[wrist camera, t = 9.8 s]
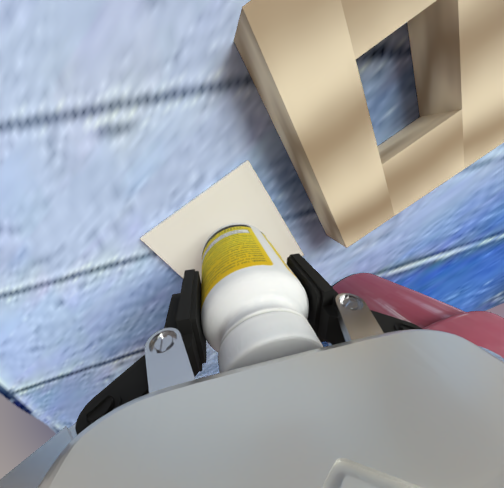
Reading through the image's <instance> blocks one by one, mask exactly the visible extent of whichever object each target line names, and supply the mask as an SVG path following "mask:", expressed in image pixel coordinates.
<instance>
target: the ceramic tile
mask: <svg viewBox="0 0 504 488" xmlns="http://www.w3.org/2000/svg"><path fill="white" fill-rule="evenodd" d="M232 223H245V224H249V225H252V226H254V227H256V228H258V229H259V230H260V231H261V232H262V233H263V234H264V235H265V236H266V237H267V239H268V240H269V241H270V242H271V244H272V245H273V246H274V248H275V249H276V251H277V252H278V253H279V255H280V256H281V257H282V259H283V260H284V261H285V263H286V264H287V257H289V256H290V254H297V253H299V254H300V255H301V256H304V254H303V252H302V251H301V249H300V247H299V246H298V244H297V242H296V241H295V239H294V237H293V235H292V234H291V232H290V230H289V229H288V227H287V225H286V224H285V222H284V220H283V218H282V217H281V215H280V213H279V212H278V210H277V208H276V207H275V205H274V203H273V202H272V200H271V198H270V196H269V195H268V193H267V191H266V190H265V188H264V186H263V185H262V183H261V181H260V179H259V178H258V176H257V174H256V173H255V171H254V169H253V168H252V166H251V164H250V162H249V161H248V160H246V161H245V162H243V163H242V164H241V165H239V166H238V167H237V168H235V169H234V170H232V171H231V172H230V173H228V174H227V175H226V176H224V177H223V178H221V179H220V180H219V181H217V182H216V183H214V184H213V185H212V186H210V187H209V188H208V189H206V190H205V191H203V192H202V193H201V194H199V195H198V196H197V197H195V198H194V199H192V200H191V201H190V202H188V203H187V204H185V205H184V206H183V207H181V208H180V209H179V210H177V211H176V212H174V213H173V214H172V215H170V216H169V217H168V218H166V219H165V220H163V221H162V222H161V223H159V224H158V225H157V226H155V227H154V228H152V229H151V230H150V231H148V232H147V233H145V234H144V235H143V236H142V237H141V238H140V239H141V240H142V241H143V242H144V243H145V244H146V245H147V246H148V247H150V248H151V249H152V250H153V251H154V252H155V253H156V254H157V255H158V256H159V257H160V258H161V259H163V260H164V261H165V262H166V263H167V264H168V265H169V266H170V267H171V268H172V269H173V270H174V271H176V272H177V273H178V274H179V275H180V276H181V277H182V278H184V272H185V270H191V269H195V271H199V275H200V280H201V276H202V253H203V248H204V245H205V243H206V241H207V239H208V238H209V237H210V235H211V234H212V233H214V232H215V231H216V230H217V229H219V228H221V227H223V226H225V225H228V224H232Z"/></svg>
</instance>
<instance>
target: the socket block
mask: <svg viewBox="0 0 504 488" xmlns="http://www.w3.org/2000/svg"><path fill="white" fill-rule="evenodd" d="M406 22H407V25H408V32H409V39H410V47H411V54H412V62H413V69H414V77H415V84H416V91H417V99H418V106H419V114H420V117H419V118H418V119H416V120H415V121H413V122H412V123H410V124H409V125H408V126H406V127H405V128H403V129H402V130H400V131H399V132H398V133H396V134H395V135H393V136H392V137H390V138H389V139H388V140H386V141H385V142H383V143H382V144H380V145H379V146H378V147H377V143H376V139H375V135H374V131H373V127H372V123H371V119H370V115H369V111H368V107H367V103H366V99H365V95H364V91H363V87H362V83H361V79H360V75H359V71H358V67H357V63H356V59H357V58H359V57H360V56H361V55H363V54H364V53H365V52H367V51H368V50H369V49H371V48H372V47H374V46H375V45H376V44H378V43H379V42H380V41H382V40H383V39H385V38H386V37H387V36H389V35H390V34H391V33H393V32H394V31H395V30H397V29H398V28H400V27H401V26H402V25H404V24H405V23H406ZM234 43H235V45H236V47H237V49H238V51H239V53H240V55H241V57H242V59H243V61H244V63H245V66H246V68H247V70H248V72H249V74H250V76H251V78H252V80H253V82H254V84H255V86H256V88H257V91H258V93H259V95H260V97H261V99H262V101H263V103H264V105H265V107H266V109H267V111H268V114H269V116H270V118H271V120H272V122H273V124H274V126H275V128H276V130H277V132H278V134H279V136H280V139H281V141H282V143H283V145H284V147H285V149H286V151H287V153H288V155H289V157H290V159H291V162H292V164H293V166H294V168H295V170H296V172H297V174H298V176H299V178H300V180H301V182H302V184H303V187H304V189H305V191H306V193H307V195H308V197H309V199H310V201H311V203H312V205H313V207H314V209H315V212H316V214H317V216H318V218H319V220H320V222H321V224H322V226H323V228H324V230H325V232H326V235H327V236H329V237H331V238H332V239H334V240H335V241H337V242H338V243H340V244H342V245H343V246H345V247H346V248H347V247H349V246H350V245H352V244H353V243H355V242H356V241H358V240H359V239H361V238H362V237H364V236H365V235H367V234H368V233H370V232H371V231H373V230H374V229H376V228H377V227H379V226H380V225H382V224H383V223H384V222H386V221H387V220H389V219H390V218H392V217H393V216H395V215H396V214H398V213H399V212H401V211H402V210H404V209H405V208H407V207H408V206H410V205H411V204H413V203H414V202H416V201H417V200H419V199H420V198H422V197H423V196H425V195H426V194H428V193H429V192H431V191H432V190H434V189H435V188H437V187H438V186H440V185H441V184H442V183H444V182H445V181H447V180H448V179H450V178H451V177H453V176H454V175H456V174H457V173H459V172H460V171H462V170H463V169H465V168H466V167H468V166H469V165H471V164H472V163H474V162H475V161H477V160H478V159H480V158H481V157H483V156H484V155H486V154H487V153H489V152H490V151H492V150H493V149H495V148H496V147H497V146H499V145H500V144H502V143H503V142H504V0H251V1H249V2H248V3H247V4H246V5H244V6H243V7H242V10H241V14H240V18H239V22H238V26H237V30H236V34H235V38H234Z"/></svg>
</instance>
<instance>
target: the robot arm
mask: <svg viewBox="0 0 504 488" xmlns="http://www.w3.org/2000/svg"><path fill="white" fill-rule="evenodd" d="M287 265H288V267H289V268H290V269H291V271H292V272H293V273H294V275H295V276H296V277H297V279H298V280H299V281H300V283H301V284H302V286H303V288H304V289H305V291H306V294H307V297H308V301H309V313H308V318H307V321H308V323H309V324H310V325H311V327H312V329H313V330H314V332H315V334H316V335H317V337H318V339H319V340H320V342H324V341H326V342H328V345H329V346H326V347H322V348H318V349H314V350H310V351H306V352H302V353H298V354H294V355H290V356H286V357H282V358H278V359H274V360H270V361H266V362H261V363H257V364H254V365H250V366H246V367H242V368H238V369H234V370H230V371H226V372H222V373H218V374H214V375H210V376H206V377H202V378H199V379H195V376H196V374H197V373H198V372H199V371H202V363H206V338H205V336H204V333H203V330H202V324H201V280H200V275H199V271H195V269H191V270H185V272H184V278H183V283H182V289H181V293H179V294H173V295H172V298H171V302H170V306H169V310H168V314H167V318H166V323H165V327H164V329H161V330H159V331H157V332H156V333H154V334H153V335H152V336H151V337H150V338H149V339H148V340H147V342H146V344H145V355H144V356H143V357H141V358H140V359H139V360H138V361H137V362H135V363H134V364H133V365H132V366H131V367H130V368H128V369H127V370H126V371H125V372H124V373H122V374H121V375H120V376H119V377H118V378H117V379H115V380H114V381H113V382H112V383H111V384H109V385H108V386H107V387H106V388H105V389H104V390H102V391H101V392H100V393H99V394H98V395H96V396H95V397H94V398H93V399H92V400H91V401H90V402H89V403H88V404H87V405H86V406H85V407H84V409H83V410H82V412H81V413H80V415H79V417H78V419H77V422H76V423H75V424H74V425H72V426H71V427H70V428H69V429H68V428H67V427H65V428H63V429H62V430H61V431H60V432H58V433H57V434H56V435H55V436H54V437H52V438H51V439H50V440H49V441H47V442H46V443H45V444H44V445H42V446H41V447H40V448H39V449H37V450H36V451H35V452H34V453H33V454H31V455H30V456H29V457H28V458H26V459H25V460H24V461H23V462H21V463H20V464H19V465H18V466H16V467H15V468H14V469H13V470H12V471H10V472H9V473H8V474H6V475H5V476H4V477H3V478H2V479H0V488H504V358H502V357H501V356H500V355H498V354H496V353H495V352H493V351H491V350H488V349H486V348H483V347H480V346H477V345H475V344H474V343H472V342H470V341H468V340H466V339H464V338H462V337H460V336H457V335H455V334H451V333H447V332H442V331H436V330H427V329H422V328H420V327H419V326H417V325H415V324H413V323H410V322H408V321H404V320H401V319H398V318H395V317H392V316H389V315H385V314H382V313H379V312H376V311H373V310H370V309H369V307H368V306H367V304H366V302H365V301H364V300H363V299H362V298H360V297H358V296H356V295H354V294H350V293H341V294H338V293H337V292H336V291H335V290H334V289H333V288H332V287H331V286H330V285H329V284H328V282H327V281H326V280H325V279H324V278H323V277H322V276H321V275H320V274H319V273H318V272H317V271H316V270H315V269H314V268H313V267H312V266H311V265H310V264H309V263H308V262H307V261H306V260H305V259H304V258H303V257H302V256H301V255H300V254H299V253H297V254H290V256H289V257H287Z"/></svg>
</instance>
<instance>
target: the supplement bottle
mask: <svg viewBox="0 0 504 488" xmlns="http://www.w3.org/2000/svg"><path fill="white" fill-rule="evenodd" d="M308 313H309V301H308V297H307V294H306V291H305V289H304V288H303V286H302V284H301V283H300V281H299V280H298V279H297V277H296V276H295V275H294V273H293V272H292V271H291V269H290V268H289V267H288V265H287V264H286V263H285V261H284V260H283V259H282V257H281V256H280V255H279V253H278V252H277V251H276V249H275V248H274V246H273V245H272V244H271V242H270V241H269V240H268V239H267V237H266V236H265V235H264V234H263V233H262V232H261V231H260V230H259V229H258V228H256V227H254V226H252V225H249V224H245V223H232V224H228V225H225V226H223V227H221V228H219V229H217V230H216V231H215V232H214V233H212V234H211V235H210V237H209V238H208V239H207V241H206V243H205V245H204V248H203V253H202V276H201V324H202V330H203V333H204V336H205V338H206V340H207V342H208V343H209V344H210V346H211V347H212V348H213V349H214V350H215V351H217V352H218V363H219V371H220V373H222V372H226V371H230V370H234V369H238V368H242V367H246V366H250V365H254V364H257V363H261V362H266V361H270V360H274V359H278V358H282V357H286V356H290V355H294V354H298V353H302V352H306V351H310V350H314V349H318V348H322V347H323V345H322V343H321V342H320V340H319V339H318V337H317V335H316V334H315V332H314V330H313V329H312V327H311V325H310V324H309V323H308V321H307V318H308Z"/></svg>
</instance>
